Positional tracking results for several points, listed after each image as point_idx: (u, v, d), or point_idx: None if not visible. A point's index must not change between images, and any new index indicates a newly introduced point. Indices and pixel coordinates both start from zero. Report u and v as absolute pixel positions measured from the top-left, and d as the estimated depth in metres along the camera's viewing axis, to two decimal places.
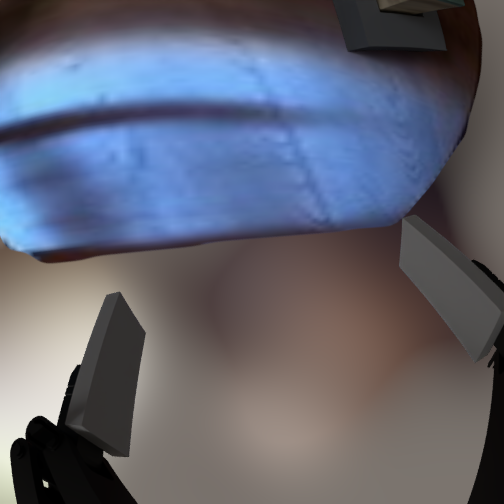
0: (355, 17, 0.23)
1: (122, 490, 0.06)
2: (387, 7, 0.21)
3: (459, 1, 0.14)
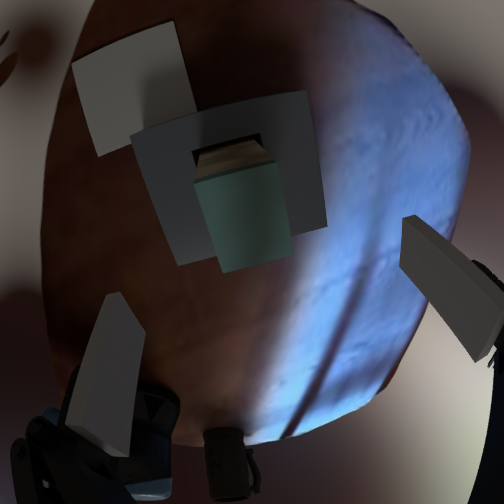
0: None
1: (122, 490, 0.06)
2: None
3: (273, 177, 0.17)
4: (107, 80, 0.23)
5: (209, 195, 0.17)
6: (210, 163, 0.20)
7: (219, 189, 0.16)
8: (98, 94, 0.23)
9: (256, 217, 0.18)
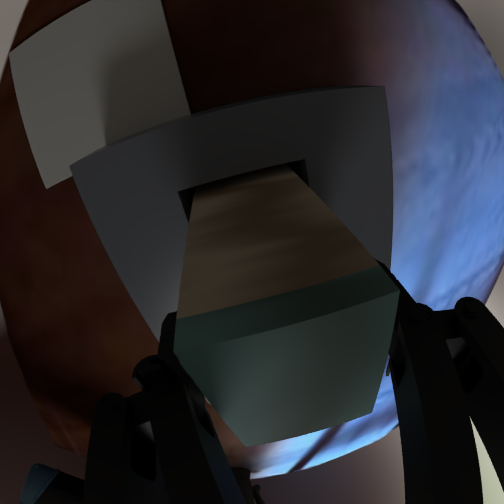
0: None
1: (220, 450, 0.07)
2: None
3: (381, 323, 0.06)
4: (52, 71, 0.12)
5: (218, 369, 0.06)
6: (214, 241, 0.09)
7: (243, 359, 0.06)
8: (41, 94, 0.13)
9: (323, 389, 0.07)
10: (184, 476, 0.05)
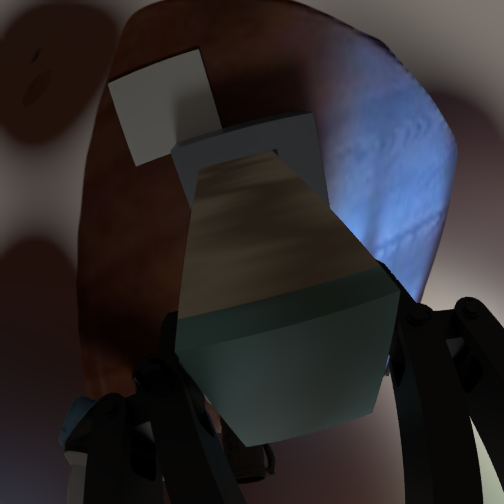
0: None
1: (220, 450, 0.07)
2: None
3: (382, 323, 0.06)
4: (142, 100, 0.29)
5: (220, 369, 0.06)
6: (215, 241, 0.09)
7: (244, 360, 0.06)
8: (135, 112, 0.30)
9: (324, 389, 0.07)
10: (184, 476, 0.05)
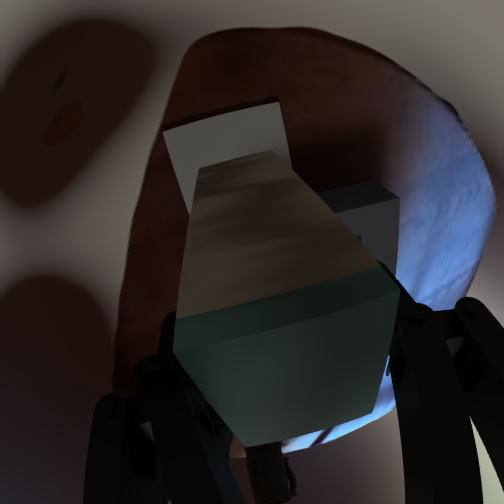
0: None
1: (220, 450, 0.07)
2: None
3: (382, 323, 0.06)
4: (207, 158, 0.28)
5: (218, 369, 0.06)
6: (214, 240, 0.09)
7: (243, 359, 0.06)
8: (197, 172, 0.28)
9: (323, 389, 0.07)
10: (184, 476, 0.05)
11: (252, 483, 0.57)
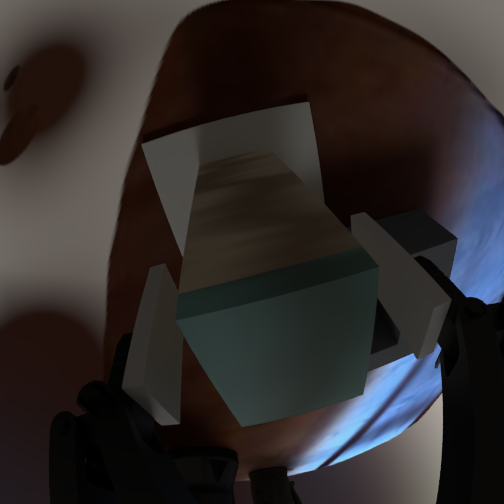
0: None
1: (171, 466, 0.07)
2: None
3: (364, 298, 0.07)
4: None
5: (216, 339, 0.07)
6: (213, 228, 0.10)
7: (237, 329, 0.07)
8: None
9: (314, 364, 0.08)
10: (134, 493, 0.04)
11: None
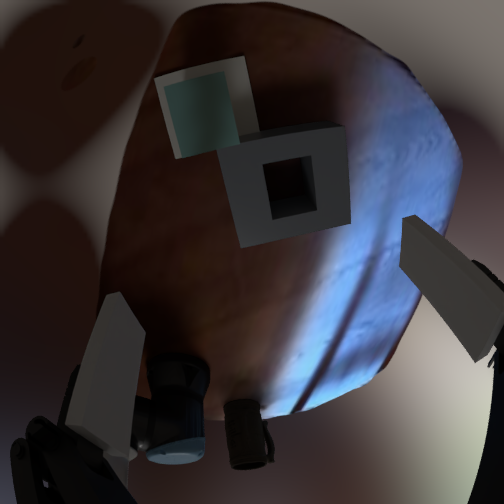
0: None
1: (122, 490, 0.06)
2: None
3: (221, 81, 0.20)
4: None
5: (174, 94, 0.20)
6: None
7: (181, 90, 0.20)
8: None
9: (208, 111, 0.21)
10: None
11: (228, 443, 0.63)
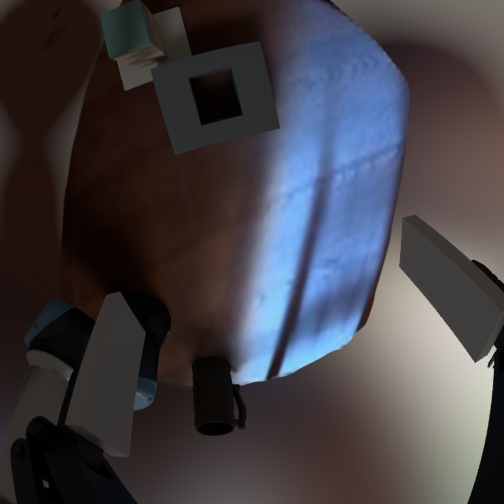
0: None
1: (122, 491, 0.06)
2: (161, 50, 0.30)
3: (137, 5, 0.20)
4: None
5: (106, 18, 0.20)
6: None
7: (111, 15, 0.20)
8: None
9: (128, 24, 0.21)
10: None
11: (194, 403, 0.63)
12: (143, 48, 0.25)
